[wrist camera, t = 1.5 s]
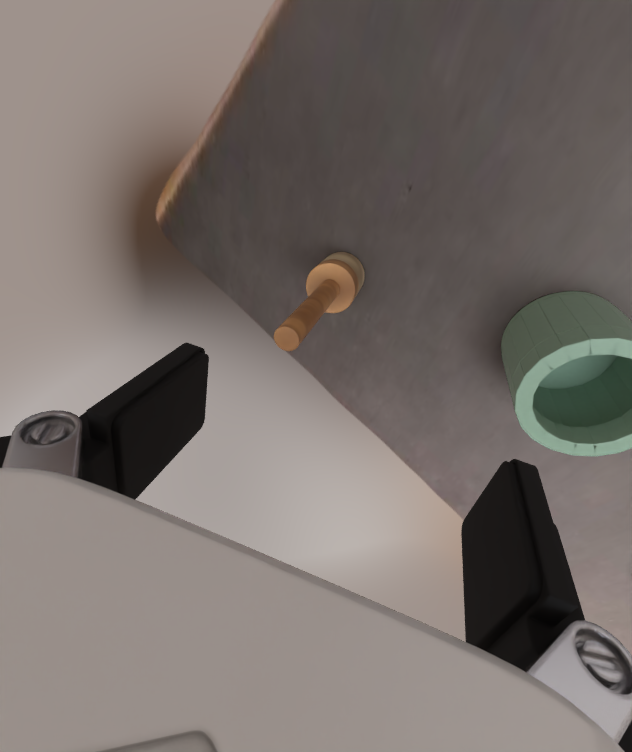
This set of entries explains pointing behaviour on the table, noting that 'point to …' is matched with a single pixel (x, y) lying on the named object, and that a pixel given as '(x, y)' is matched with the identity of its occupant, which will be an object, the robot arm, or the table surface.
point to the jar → (571, 373)
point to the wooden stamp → (322, 297)
